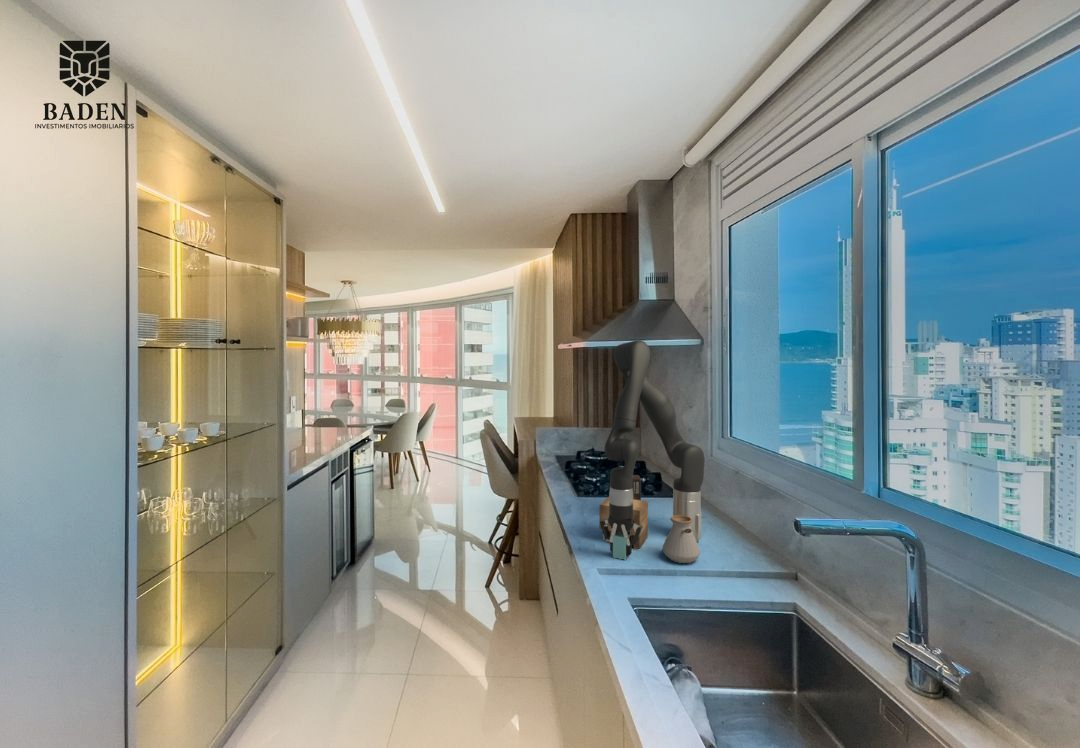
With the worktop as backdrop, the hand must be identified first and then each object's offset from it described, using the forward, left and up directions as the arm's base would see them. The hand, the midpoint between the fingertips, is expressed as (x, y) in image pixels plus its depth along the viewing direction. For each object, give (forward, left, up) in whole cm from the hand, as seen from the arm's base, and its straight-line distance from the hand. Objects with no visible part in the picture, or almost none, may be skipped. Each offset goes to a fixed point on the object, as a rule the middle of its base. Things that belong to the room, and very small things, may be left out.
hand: (620, 554), depth 145 cm
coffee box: (+8, -37, -1) cm, 38 cm away
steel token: (+7, -11, -1) cm, 14 cm away
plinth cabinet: (+3, -13, -1) cm, 14 cm away
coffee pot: (-19, -3, -1) cm, 19 cm away
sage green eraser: (0, -6, -1) cm, 6 cm away
